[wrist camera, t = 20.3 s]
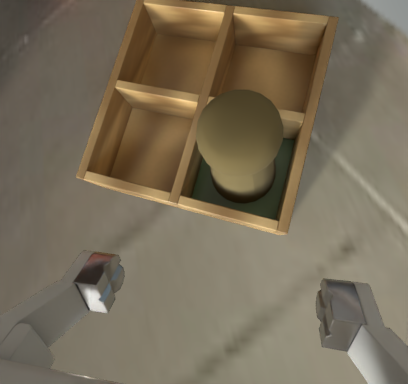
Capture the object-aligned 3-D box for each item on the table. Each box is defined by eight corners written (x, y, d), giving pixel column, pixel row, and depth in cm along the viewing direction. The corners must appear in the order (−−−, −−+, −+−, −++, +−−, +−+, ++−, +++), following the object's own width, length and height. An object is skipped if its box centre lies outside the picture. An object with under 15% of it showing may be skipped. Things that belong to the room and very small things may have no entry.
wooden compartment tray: (103, 187, 29) (75, 177, 24) (154, 32, 31) (138, -5, 26) (280, 235, 25) (287, 234, 20) (323, 54, 27) (339, 16, 23)
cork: (208, 144, 27) (181, 79, 16) (272, 137, 26) (288, 63, 15) (212, 206, 26) (185, 181, 15) (279, 200, 25) (302, 170, 14)
